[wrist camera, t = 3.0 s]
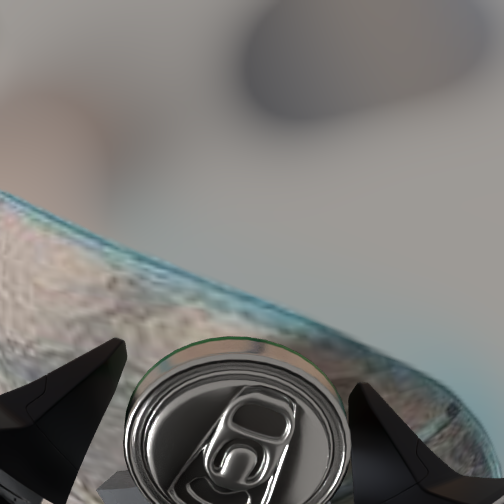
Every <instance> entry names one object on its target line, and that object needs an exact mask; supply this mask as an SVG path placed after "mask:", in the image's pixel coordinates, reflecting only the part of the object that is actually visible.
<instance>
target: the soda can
mask: <svg viewBox="0 0 504 504" xmlns="http://www.w3.org/2000/svg"><path fill="white" fill-rule="evenodd" d="M124 429H125V431H124V440H123V446H124V457H125V461H126V464H127V468H128V471H129V474H130V476H131V478H132V480H133V482H134V484H135V486H136V487H137V489H138V490H139V491H140V493H141V494H142V496H143V497H144V498H145V499H146V500H147V501H148V502H149V503H150V504H327V503H328V502H329V501H330V500H331V499H332V497H333V496H334V495H335V493H336V492H337V490H338V489H339V487H340V486H341V484H342V482H343V479H344V477H345V475H346V473H347V470H348V466H349V462H350V458H351V445H352V444H351V435H350V429H349V425H348V422H347V417H346V412H345V409H344V406H343V403H342V400H341V398H340V396H339V394H338V392H337V390H336V388H335V386H334V385H333V384H332V382H331V381H330V380H329V379H328V377H327V376H326V375H325V373H324V372H322V371H321V370H320V369H319V368H318V367H317V366H316V365H315V364H314V363H313V362H311V361H310V360H308V359H307V358H305V357H304V356H302V355H301V354H299V353H298V352H296V351H294V350H291V349H289V348H287V347H285V346H283V345H280V344H277V343H274V342H271V341H267V340H263V339H257V338H251V337H233V336H227V337H219V338H210V339H206V340H202V341H198V342H195V343H191V344H189V345H187V346H184V347H182V348H180V349H177V350H175V351H174V352H172V353H170V354H169V355H167V356H166V357H164V358H162V359H161V360H160V361H159V362H157V363H156V364H155V365H154V366H153V367H152V368H151V369H149V370H148V372H147V373H146V374H145V375H144V376H143V378H142V379H141V380H140V381H139V383H138V384H137V386H136V388H135V390H134V392H133V394H132V395H131V398H130V401H129V404H128V407H127V410H126V417H125V425H124Z"/></svg>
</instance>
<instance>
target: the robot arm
mask: <svg viewBox="0 0 504 504" xmlns="http://www.w3.org/2000/svg"><path fill="white" fill-rule="evenodd" d="M126 360H127V351H126V344H125V341H124V340H122V339H119V338H113V339H111V340H109V341H107V342H105V343H104V344H102V345H100V346H98V347H96V348H94V349H93V350H91V351H89V352H87V353H85V354H83V355H82V356H80V357H78V358H76V359H74V360H72V361H71V362H69V363H67V364H65V365H63V366H61V367H60V368H58V369H56V370H54V371H52V372H50V373H48V374H47V375H45V376H43V377H41V378H39V379H37V380H35V381H33V382H31V383H29V384H27V385H24V386H22V387H20V388H17V389H15V390H12V391H9V392H7V393H4V394H2V395H0V504H41V503H42V501H43V499H46V500H48V501H50V502H51V503H53V504H66V502H67V499H68V496H69V494H70V491H71V489H72V486H73V484H74V481H75V479H76V476H77V474H78V471H79V469H80V466H81V464H82V462H83V459H84V457H85V455H86V452H87V450H88V448H89V446H90V443H91V441H92V439H93V437H94V435H95V432H96V430H97V428H98V426H99V424H100V422H101V420H102V417H103V415H104V413H105V411H106V409H107V407H108V405H109V403H110V401H111V399H112V397H113V395H114V393H115V390H116V388H117V385H118V382H119V379H120V377H121V374H122V371H123V368H124V366H125V363H126ZM348 412H349V429H350V435H351V444H352V445H351V462H352V474H353V489H354V504H504V478H480V477H469V476H463V475H460V474H458V473H456V472H455V471H454V470H453V469H451V468H450V467H449V466H448V465H447V464H446V463H444V462H443V461H442V460H441V459H440V458H439V457H437V456H436V455H435V454H434V453H433V452H432V451H431V450H430V449H429V448H428V447H427V446H426V445H425V444H424V443H423V442H422V441H421V440H420V439H419V438H418V436H417V435H416V434H415V433H414V432H413V431H412V430H411V429H410V428H409V427H408V426H407V425H406V423H405V422H404V421H403V420H402V419H401V418H400V417H399V416H398V415H397V414H396V413H395V411H394V410H393V409H392V408H391V407H390V406H389V405H388V404H387V403H386V402H385V401H384V400H383V398H382V397H381V396H380V395H379V394H378V393H377V392H376V391H375V390H374V389H373V388H372V386H371V385H370V384H369V383H366V382H359V383H357V384H356V386H355V387H354V389H353V390H352V392H351V393H350V395H349V399H348Z"/></svg>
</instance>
